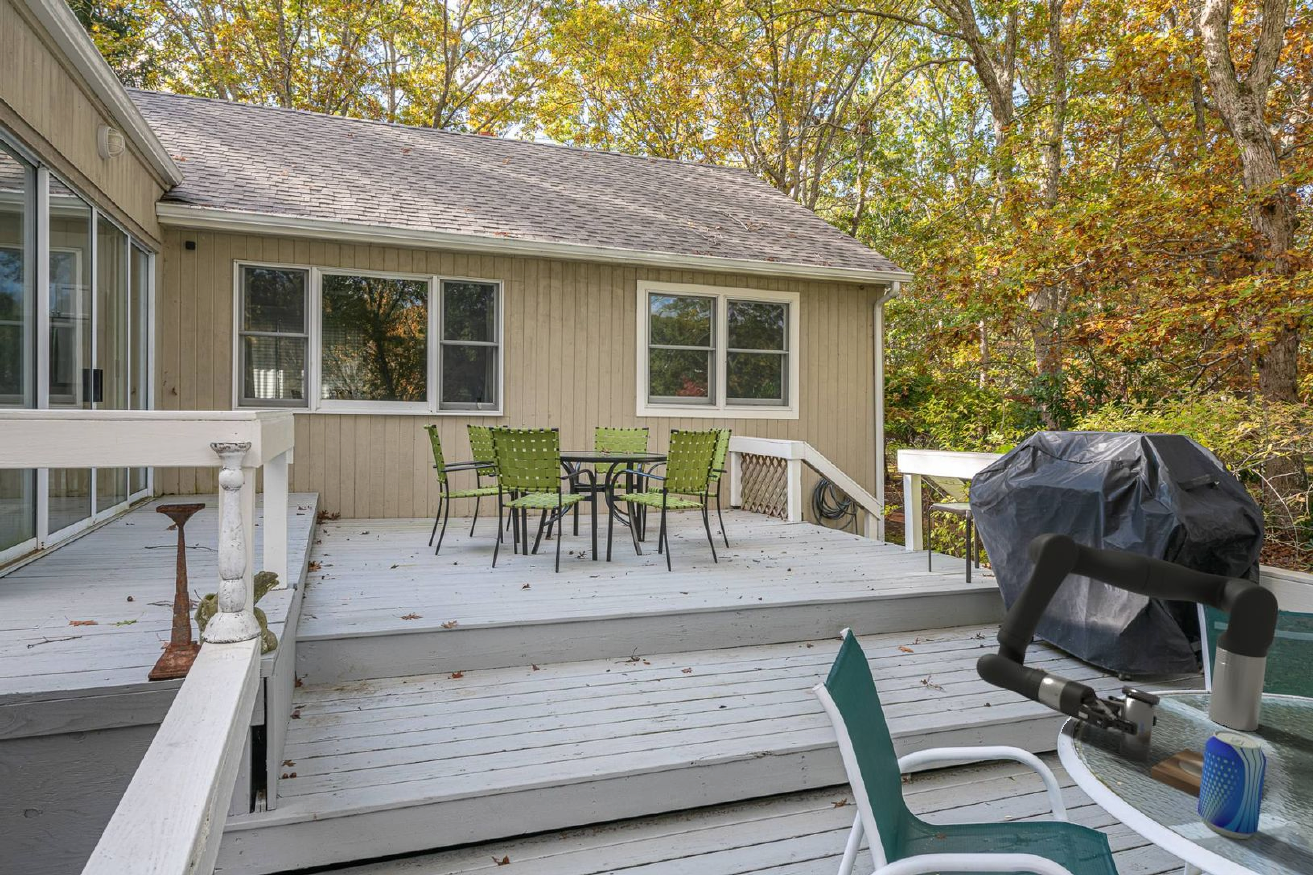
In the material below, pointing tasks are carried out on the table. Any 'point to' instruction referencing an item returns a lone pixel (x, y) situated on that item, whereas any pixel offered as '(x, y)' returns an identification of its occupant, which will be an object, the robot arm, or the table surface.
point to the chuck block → (1181, 771)
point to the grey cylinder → (1138, 723)
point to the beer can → (1232, 784)
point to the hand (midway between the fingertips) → (1146, 726)
